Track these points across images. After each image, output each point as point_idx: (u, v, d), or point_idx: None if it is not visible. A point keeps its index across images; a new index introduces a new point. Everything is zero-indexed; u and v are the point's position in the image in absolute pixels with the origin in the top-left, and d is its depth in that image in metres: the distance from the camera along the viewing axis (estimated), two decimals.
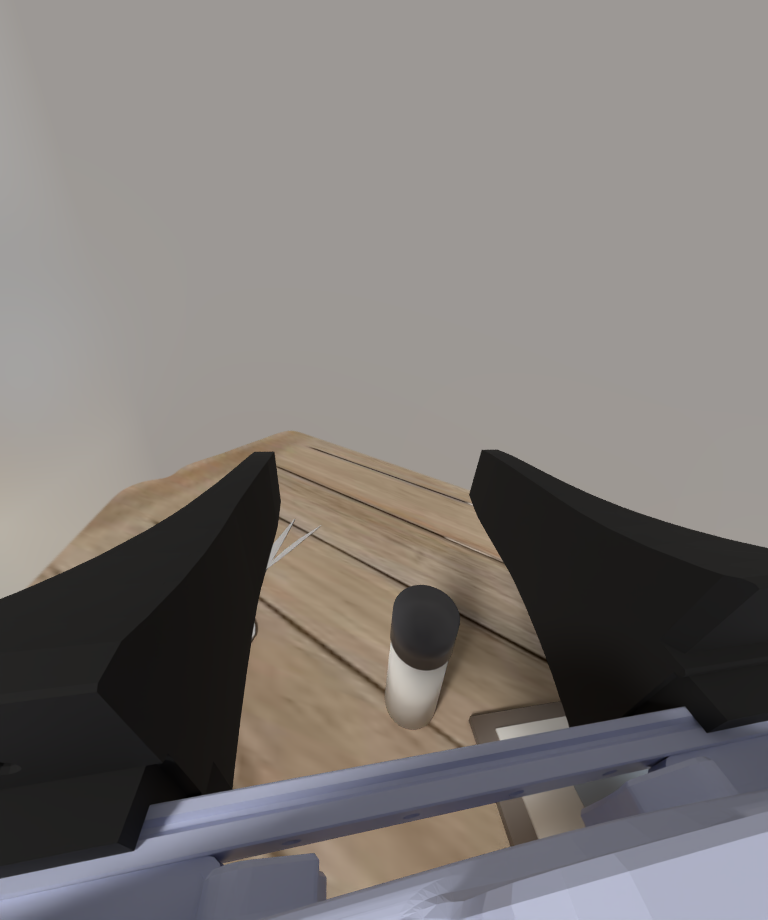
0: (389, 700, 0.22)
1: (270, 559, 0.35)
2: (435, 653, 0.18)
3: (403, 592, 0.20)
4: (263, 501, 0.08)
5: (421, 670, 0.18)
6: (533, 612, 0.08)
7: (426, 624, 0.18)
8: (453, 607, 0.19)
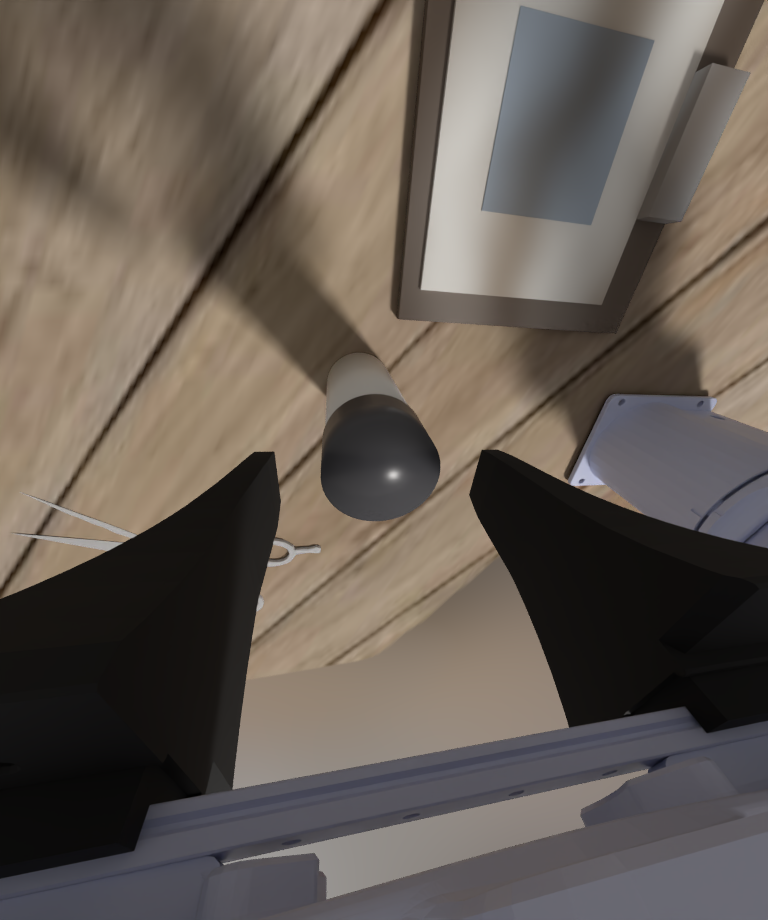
0: None
1: None
2: None
3: (335, 502, 0.11)
4: (263, 501, 0.08)
5: None
6: (533, 612, 0.08)
7: (404, 480, 0.11)
8: (382, 427, 0.10)
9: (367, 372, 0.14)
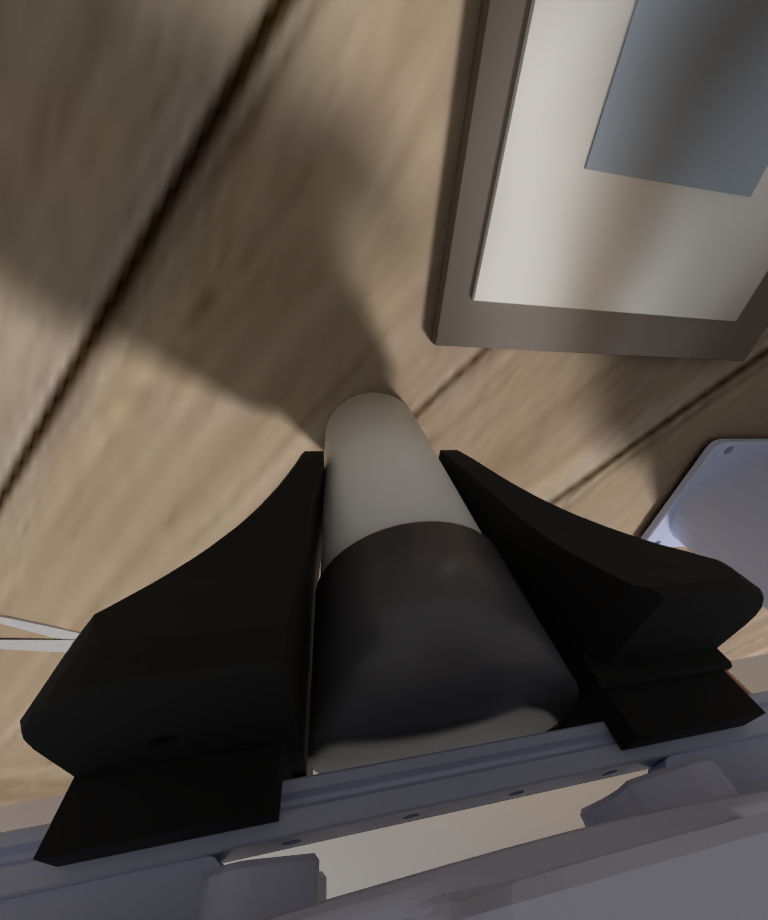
0: None
1: None
2: None
3: None
4: (320, 499, 0.08)
5: None
6: None
7: (494, 730, 0.05)
8: (466, 678, 0.04)
9: (394, 443, 0.08)
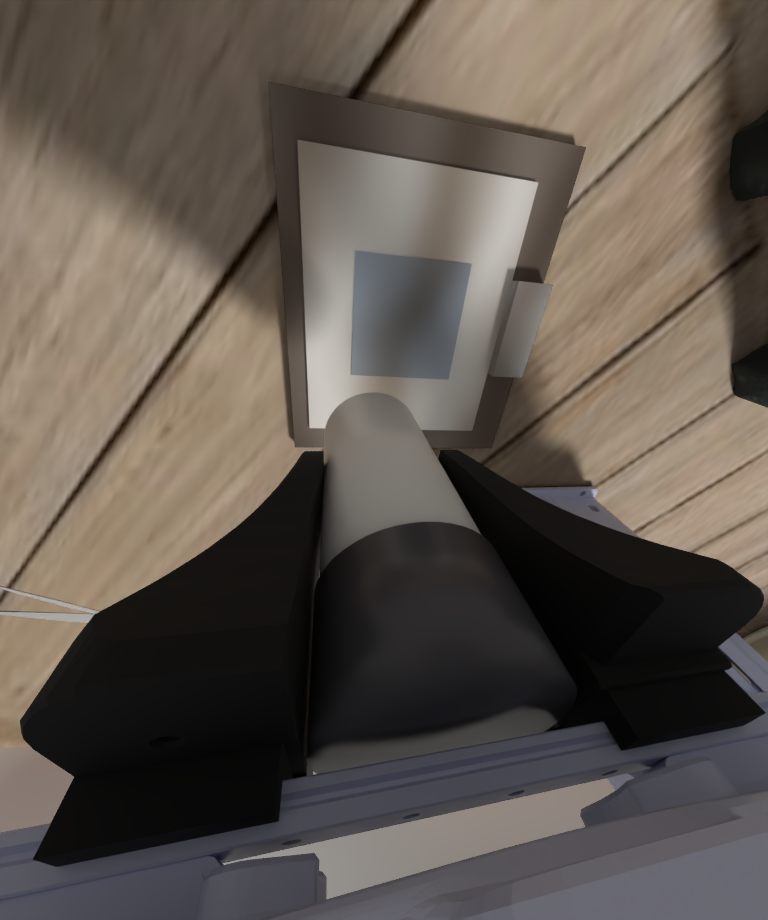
0: None
1: None
2: None
3: None
4: (320, 499, 0.08)
5: None
6: None
7: (492, 731, 0.05)
8: (466, 678, 0.04)
9: (394, 443, 0.08)
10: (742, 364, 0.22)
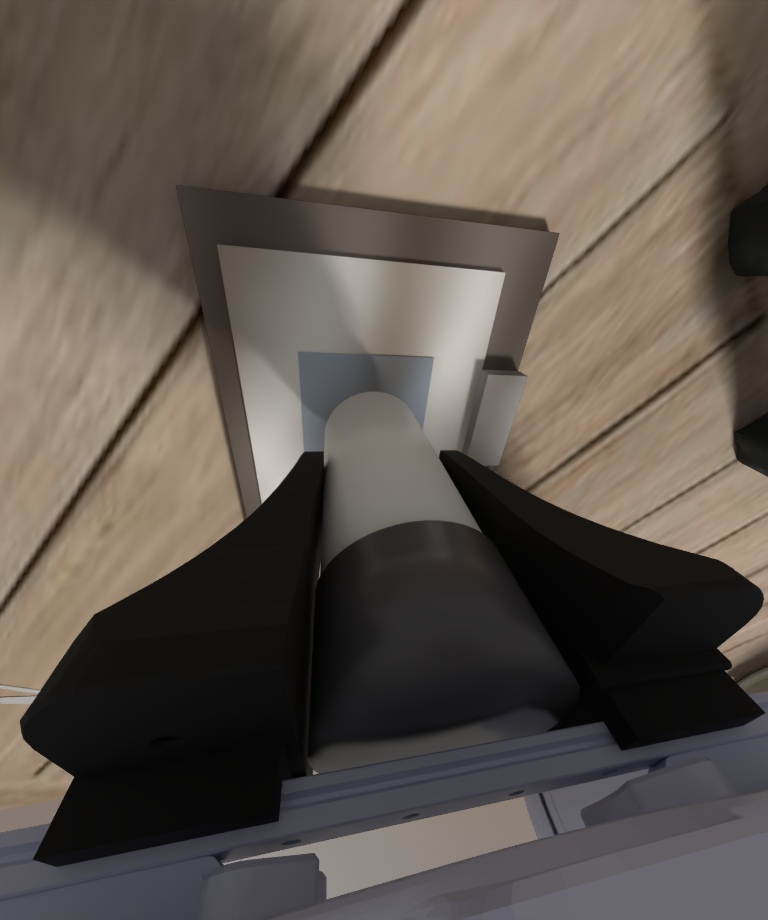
0: None
1: None
2: None
3: None
4: (320, 499, 0.08)
5: None
6: None
7: (494, 731, 0.05)
8: (468, 676, 0.04)
9: (394, 442, 0.08)
10: (746, 433, 0.20)
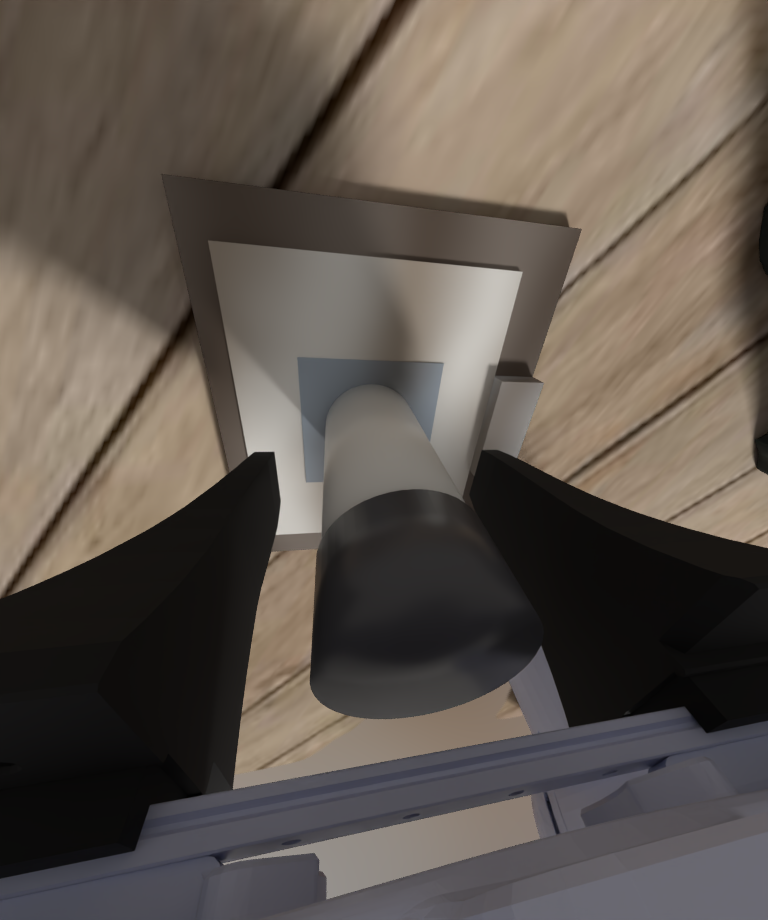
0: None
1: None
2: None
3: (338, 707, 0.06)
4: (263, 501, 0.08)
5: None
6: None
7: (471, 667, 0.06)
8: (443, 604, 0.04)
9: (389, 427, 0.09)
10: (767, 440, 0.19)
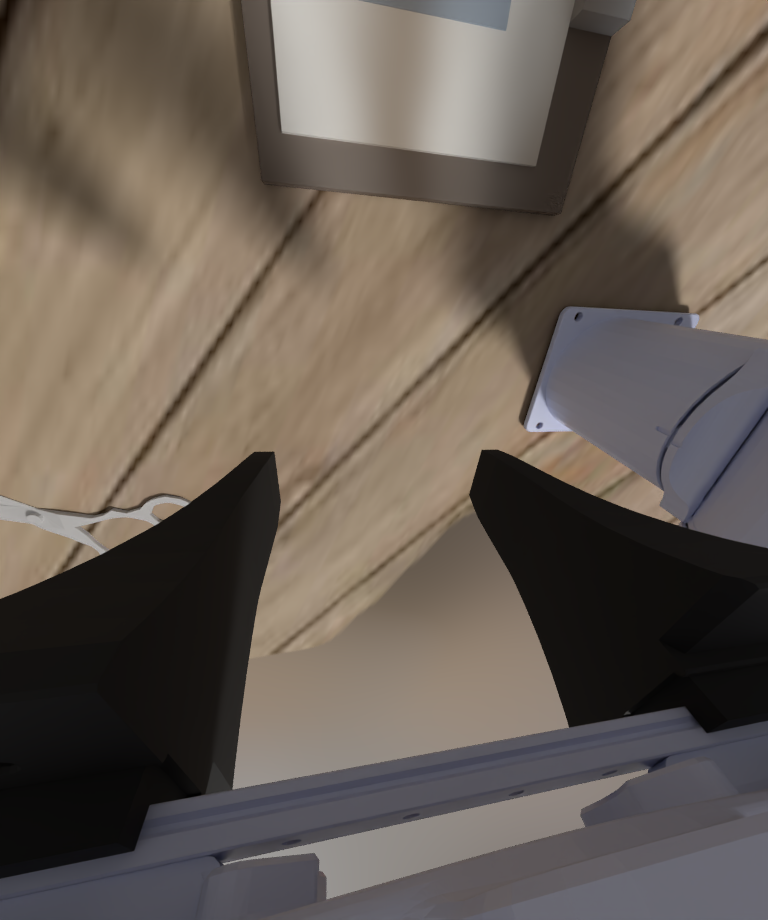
0: None
1: (11, 509, 0.19)
2: None
3: None
4: (263, 501, 0.08)
5: None
6: (533, 612, 0.08)
7: None
8: None
9: None
10: None
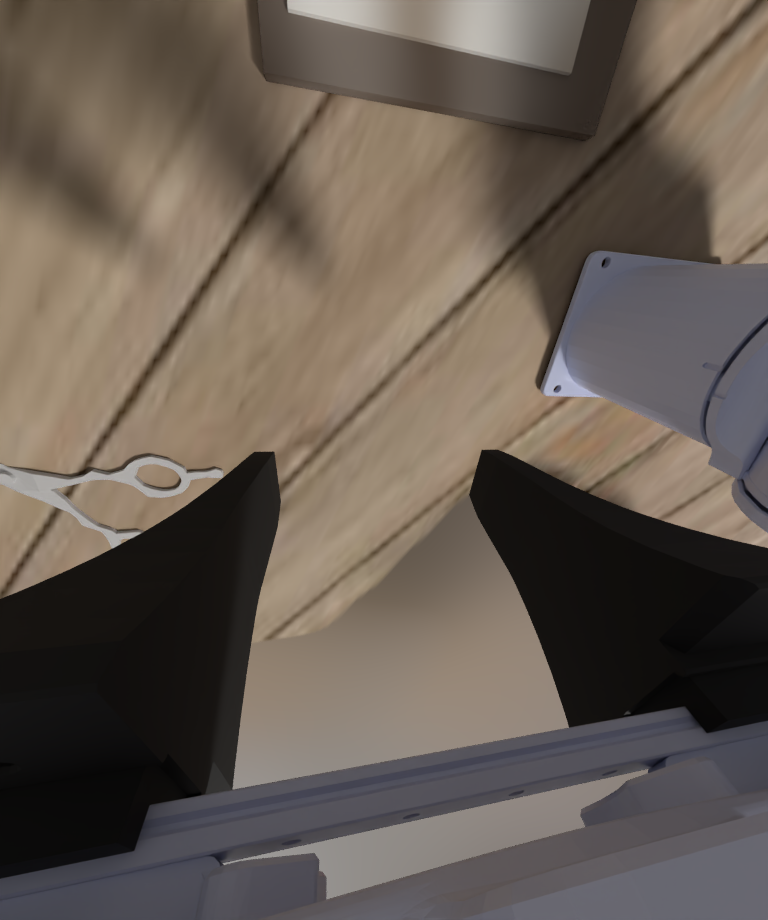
0: None
1: None
2: None
3: None
4: (263, 501, 0.08)
5: None
6: (534, 612, 0.08)
7: None
8: None
9: None
10: None
